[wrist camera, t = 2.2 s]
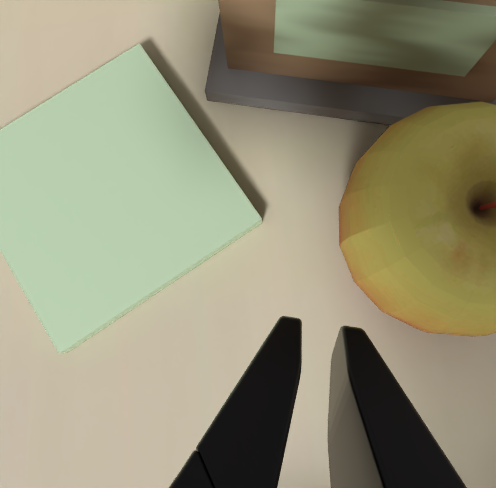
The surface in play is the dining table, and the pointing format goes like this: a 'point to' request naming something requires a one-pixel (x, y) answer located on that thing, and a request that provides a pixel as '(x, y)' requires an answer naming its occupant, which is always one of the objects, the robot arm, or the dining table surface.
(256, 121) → the dining table surface
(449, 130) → the apple
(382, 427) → the robot arm
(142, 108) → the sage pad
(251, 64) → the walnut unit
